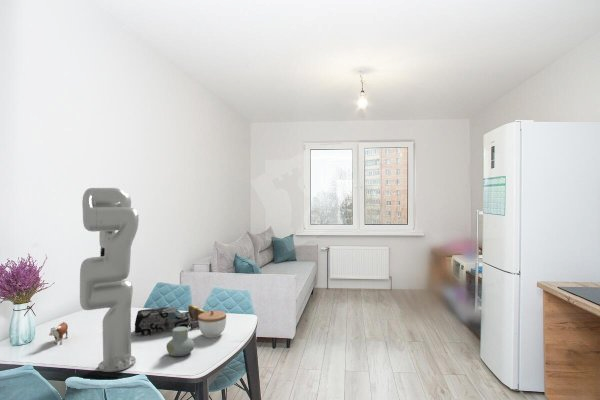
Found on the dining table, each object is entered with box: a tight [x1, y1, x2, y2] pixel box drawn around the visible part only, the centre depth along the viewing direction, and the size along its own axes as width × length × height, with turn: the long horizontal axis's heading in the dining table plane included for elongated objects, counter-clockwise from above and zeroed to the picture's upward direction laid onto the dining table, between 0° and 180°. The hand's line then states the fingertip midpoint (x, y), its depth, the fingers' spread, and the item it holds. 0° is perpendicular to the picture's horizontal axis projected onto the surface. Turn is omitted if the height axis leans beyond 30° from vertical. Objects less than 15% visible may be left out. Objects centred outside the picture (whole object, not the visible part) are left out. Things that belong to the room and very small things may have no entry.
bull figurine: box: [48, 321, 69, 346], centre depth 167 cm, size 4×13×8 cm, turn 11°
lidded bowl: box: [198, 309, 227, 339], centre depth 174 cm, size 13×13×11 cm
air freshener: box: [166, 327, 195, 357], centre depth 153 cm, size 11×8×10 cm
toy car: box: [133, 306, 191, 337], centre depth 181 cm, size 11×25×10 cm, turn 109°
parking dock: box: [182, 304, 207, 330], centre depth 191 cm, size 19×9×6 cm, turn 41°
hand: (107, 260), depth 174 cm, fingers open, 9 cm apart
